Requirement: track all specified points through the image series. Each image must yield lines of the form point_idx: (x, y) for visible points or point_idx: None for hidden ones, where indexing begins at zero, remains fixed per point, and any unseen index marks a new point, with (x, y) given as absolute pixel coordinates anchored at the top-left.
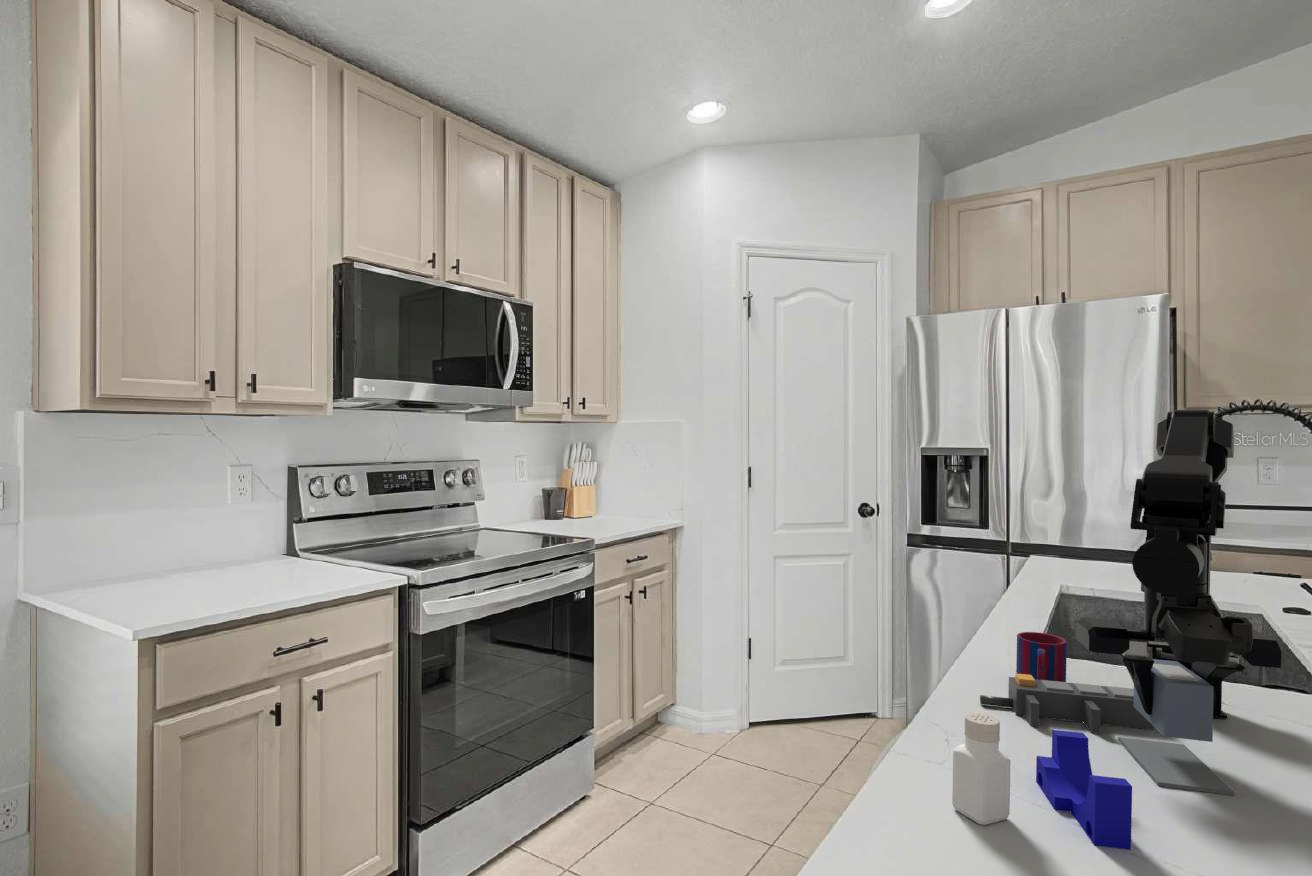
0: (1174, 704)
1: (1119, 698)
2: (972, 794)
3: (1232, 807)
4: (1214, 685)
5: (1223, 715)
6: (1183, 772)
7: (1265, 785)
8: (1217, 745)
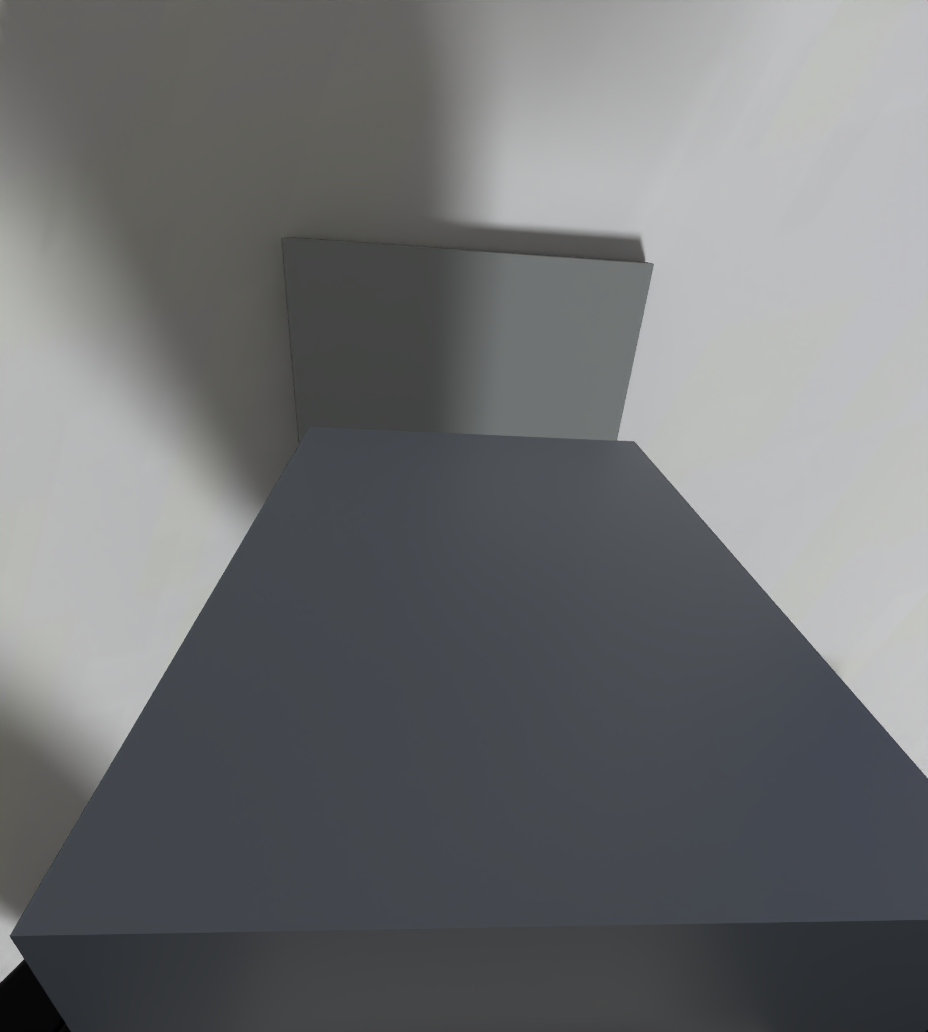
0: (670, 596)
1: None
2: None
3: (360, 47)
4: (16, 1024)
5: None
6: (451, 425)
7: (93, 412)
8: None
